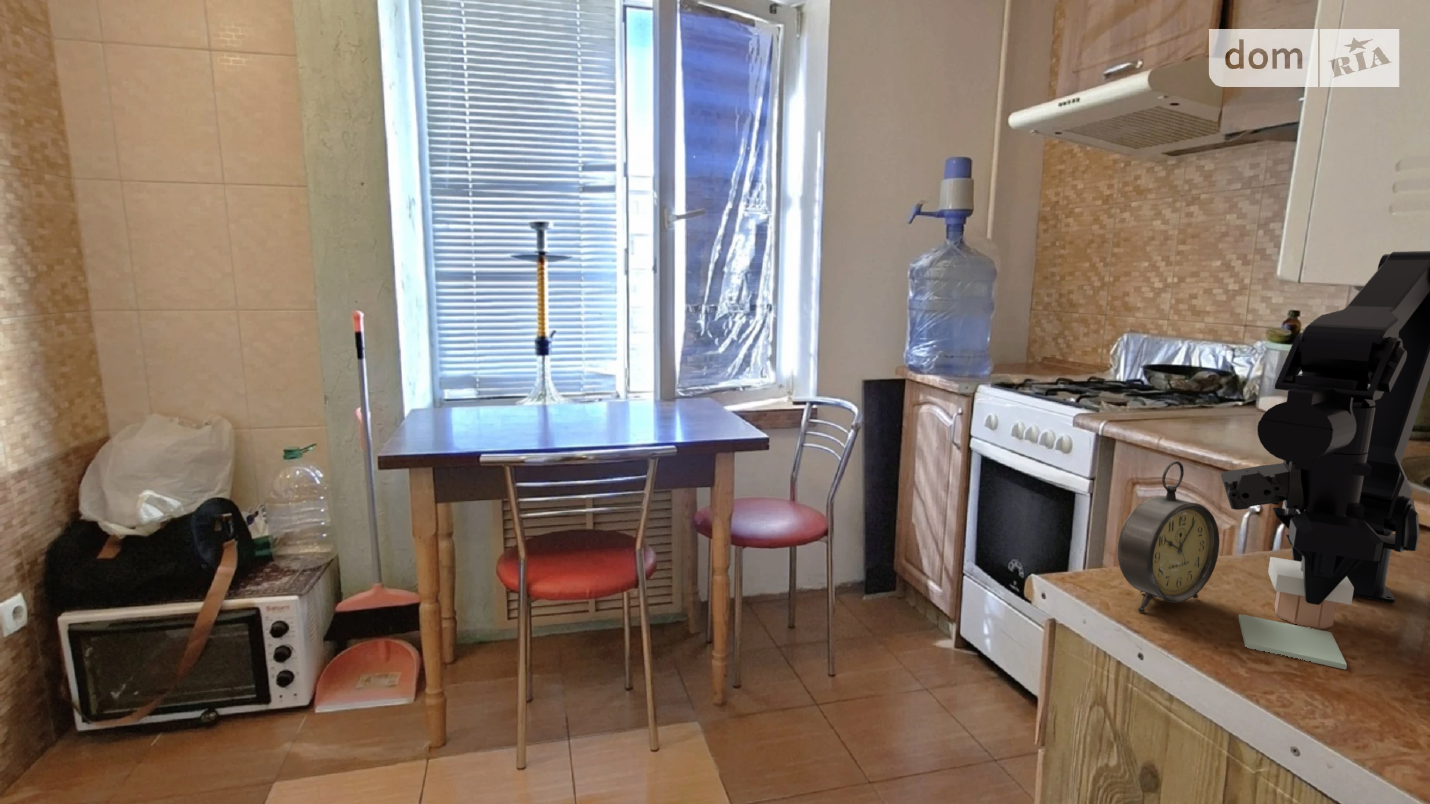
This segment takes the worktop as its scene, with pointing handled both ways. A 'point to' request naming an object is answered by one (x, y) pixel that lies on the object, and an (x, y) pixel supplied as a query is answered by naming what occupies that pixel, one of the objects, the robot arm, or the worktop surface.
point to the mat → (1291, 641)
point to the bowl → (1304, 611)
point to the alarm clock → (1168, 546)
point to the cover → (1291, 580)
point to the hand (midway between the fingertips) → (1306, 591)
